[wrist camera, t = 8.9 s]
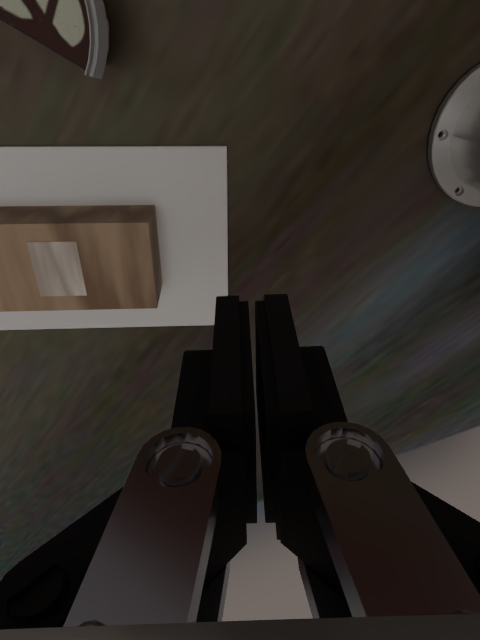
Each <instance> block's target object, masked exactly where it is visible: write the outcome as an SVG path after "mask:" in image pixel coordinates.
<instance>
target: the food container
mask: <svg viewBox="0 0 480 640" xmlns="http://www.w3.org/2000/svg"><path fill="white" fill-rule="evenodd" d="M0 20H2V21H4V22H6V23H7V24H9V25H11V26H12V27H14V28H16V29H18V30H19V31H21V32H23V33H24V34H26V35H28V36H29V37H31V38H33V39H34V40H36V41H38V42H39V43H41V44H43V45H44V46H46V47H48V48H49V49H51V50H53V51H54V52H56V53H58V54H59V55H61V56H63V57H65V58H66V59H68V60H70V61H71V62H73V63H75V64H76V65H78V66H80V67H82V68H83V69H85V74H84V75H89V76H91V77H93V78H98V79H102V77H103V73H104V69H105V66H106V61H107V57H108V53H109V50H110V23H109V19H108V15H107V11H106V7H105V3H104V0H0Z"/></svg>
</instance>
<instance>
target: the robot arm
mask: <svg viewBox="0 0 480 640" xmlns="http://www.w3.org/2000/svg"><path fill="white" fill-rule="evenodd" d="M440 131H441V135H440V136H439V137H438V134H439V132H440ZM428 161H429V167H430V170H431V173H432V176H433V178H434V180H435V182H436V183H437V185H438V187H439V188H440V189H441V190H442V191H443V192H444V193H445V194H446V195H448V196H449V197H451V198H452V199H454V200H456V201H458V202H460V203H462V204H465V205H469V206H474V207H480V64H478V65H477V66H475V67H474V68H472V69H471V70H470V71H469V72H468V73H466V74H465V75H464V76H463V77H462V78H461V79H460V80H459V81H458V82H457V83H456V84H455V86H454V87H453V88H452V89H451V90H450V91H449V93H448V94H447V96H446V97H445V99H444V101H443V102H442V104H441V105H440V107H439V109H438V111H437V114H436V116H435V118H434V121H433V123H432V127H431V131H430V135H429V141H428ZM456 188H457V190H456ZM455 190H456V191H455ZM255 332H256V396H257V412H258V426H259V440H260V454H261V468H262V482H263V496H264V509H265V522H266V523H274V522H275V523H276V532H277V539H278V540H281V543H282V544H283V545H284V546H286V547H287V548H288V549H289V550H290V551H292V552H293V553H294V554H295V555H296V556H297V557H298V564H299V571H300V574H301V578H302V581H303V585H304V589H305V592H306V596H307V599H308V603H309V606H310V610H311V613H312V617H313V619H286V620H285V619H284V620H253V621H226V622H222V617H223V610H224V604H225V598H226V591H227V584H228V578H229V571H230V570H229V569H230V565H229V561H230V560H231V559H232V558H233V557H234V556H235V555H236V554H237V553H238V552H239V551H240V550H241V549H242V548H243V547H244V546H245V545H246V544H247V534H246V533H247V531H246V523H257V490H256V426H255V401H254V385H253V370H252V354H251V339H250V323H249V308H248V301H241V302H239V296H216V307H215V322H214V336H213V350H189V351H185V352H184V355H183V361H182V367H181V373H180V379H179V385H178V391H177V397H176V403H175V409H174V415H173V421H172V427H171V429H168V430H164V431H162V432H160V433H158V434H157V435H155V436H153V437H152V438H150V439H149V440H148V441H147V442H146V443H145V444H144V445H143V446H142V448H141V449H140V451H139V452H138V454H137V456H136V458H135V461H134V463H133V465H132V468H131V470H130V472H129V475H128V477H127V479H126V482H125V484H124V486H123V487H122V488H121V489H120V490H118V491H117V492H116V493H114V494H113V495H111V496H110V497H109V498H107V499H106V500H104V501H103V502H102V503H100V504H99V505H98V506H96V507H95V508H93V509H92V510H91V511H89V512H88V513H87V514H85V515H84V516H82V517H81V518H80V519H78V520H77V521H75V522H74V523H73V524H71V525H70V526H69V527H67V528H66V529H64V530H63V531H62V532H60V533H59V534H58V535H56V536H55V537H53V538H52V539H51V540H49V541H48V542H46V543H45V544H44V545H42V546H41V547H40V548H38V549H37V550H35V551H34V552H33V553H31V554H30V555H28V556H27V557H26V558H24V559H23V560H22V561H20V562H19V563H18V564H17V565H16V566H14V567H13V568H12V569H11V570H10V571H9V572H8V573H7V574H5V576H4V577H3V578H0V640H480V522H478V521H476V520H475V519H473V518H471V517H470V516H468V515H466V514H465V513H463V512H461V511H460V510H458V509H456V508H455V507H453V506H451V505H449V504H448V503H446V502H445V501H443V500H441V499H439V498H438V497H436V496H434V495H433V494H431V493H429V492H428V491H426V490H424V489H423V488H421V487H419V486H418V485H416V484H414V483H413V482H411V481H410V479H409V478H408V476H407V474H406V473H405V471H404V469H403V468H402V466H401V465H400V463H399V461H398V460H397V458H396V456H395V454H394V453H393V451H392V450H391V448H390V446H389V445H388V444H387V443H386V441H385V440H384V439H383V438H382V437H381V436H380V435H378V434H377V433H376V432H374V431H373V430H371V429H369V428H367V427H364V426H362V425H360V424H355V423H350V422H348V421H347V418H346V415H345V412H344V409H343V406H342V402H341V399H340V396H339V393H338V390H337V387H336V384H335V380H334V377H333V374H332V371H331V368H330V365H329V362H328V358H327V355H326V352H325V350H324V347H322V346H309V347H299V343H298V339H297V335H296V331H295V326H294V322H293V318H292V313H291V309H290V305H289V300H288V296H287V294H272V295H264V301H255Z"/></svg>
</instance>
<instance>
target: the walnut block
mask: <svg viewBox="0 0 480 640" xmlns="http://www.w3.org/2000/svg"><path fill="white" fill-rule="evenodd" d="M161 289H162V273H161V263H160V252H159V241H158V231H157V220H156V210H155V205H100V206H0V312H10V311H56V310H102V309H149V308H157V307H158V302H159V298H160V293H161Z"/></svg>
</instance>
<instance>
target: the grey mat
mask: <svg viewBox="0 0 480 640" xmlns="http://www.w3.org/2000/svg"><path fill="white" fill-rule="evenodd" d="M100 205H155V210H156V220H157V231H158V241H159V252H160V263H161V273H162V289H161V293H160V298H159V302H158V307H157V308H149V309H102V310H56V311H10V312H0V330H24V329H66V328H108V327H150V326H192V325H214V322H215V307H216V296H228V238H227V146H0V206H100Z"/></svg>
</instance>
